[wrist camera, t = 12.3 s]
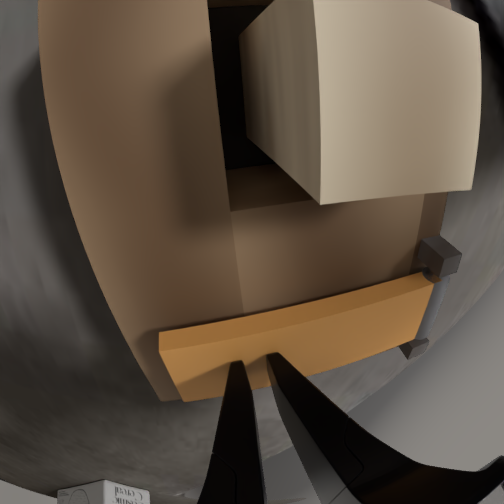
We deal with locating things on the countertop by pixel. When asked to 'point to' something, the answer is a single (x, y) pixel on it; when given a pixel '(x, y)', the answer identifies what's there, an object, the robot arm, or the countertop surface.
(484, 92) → the countertop surface
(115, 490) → the cereal box
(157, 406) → the countertop surface
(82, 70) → the block
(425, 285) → the gate
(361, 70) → the peg
